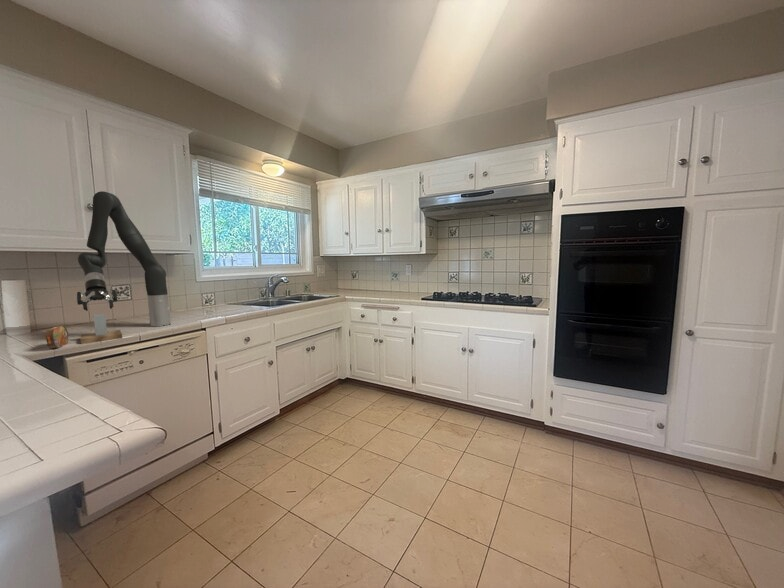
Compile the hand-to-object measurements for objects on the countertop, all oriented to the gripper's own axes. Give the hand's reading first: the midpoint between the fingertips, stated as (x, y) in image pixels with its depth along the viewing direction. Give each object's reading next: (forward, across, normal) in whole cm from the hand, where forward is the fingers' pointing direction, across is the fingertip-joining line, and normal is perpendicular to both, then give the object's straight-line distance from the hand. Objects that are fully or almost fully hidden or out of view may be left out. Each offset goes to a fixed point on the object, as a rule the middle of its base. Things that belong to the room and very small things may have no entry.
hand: (99, 308), depth 153 cm
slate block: (+11, 0, +5) cm, 12 cm away
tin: (+16, -14, +3) cm, 22 cm away
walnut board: (+13, 0, +7) cm, 14 cm away
